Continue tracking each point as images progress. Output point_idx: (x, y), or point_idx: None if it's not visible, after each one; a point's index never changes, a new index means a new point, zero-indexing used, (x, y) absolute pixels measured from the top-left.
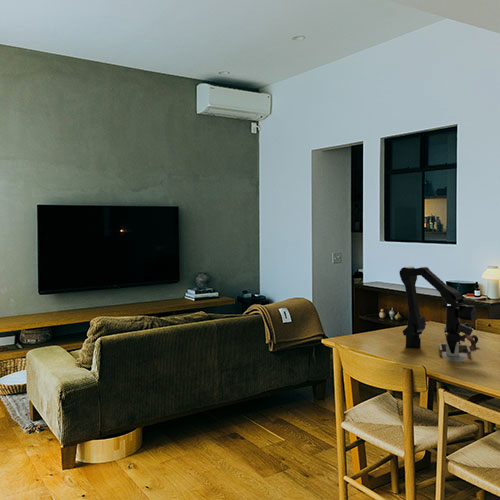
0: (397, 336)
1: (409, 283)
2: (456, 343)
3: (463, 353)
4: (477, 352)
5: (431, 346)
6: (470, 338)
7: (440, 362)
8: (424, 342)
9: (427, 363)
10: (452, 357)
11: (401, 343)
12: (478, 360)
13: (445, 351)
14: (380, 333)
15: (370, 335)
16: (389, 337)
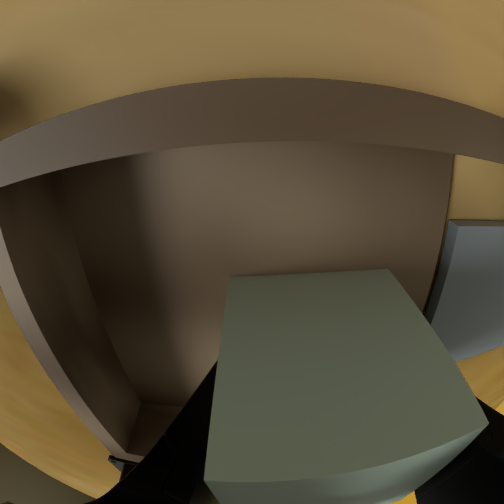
0: (26, 447)
1: None
2: (463, 440)
3: (183, 194)
4: (28, 40)
5: (60, 411)
6: None
7: (498, 361)
8: (17, 410)
9: (491, 397)
10: (451, 323)
11: (109, 476)
12: (467, 44)
13: (176, 383)
14: (37, 464)
15: (79, 486)
16: (57, 467)
